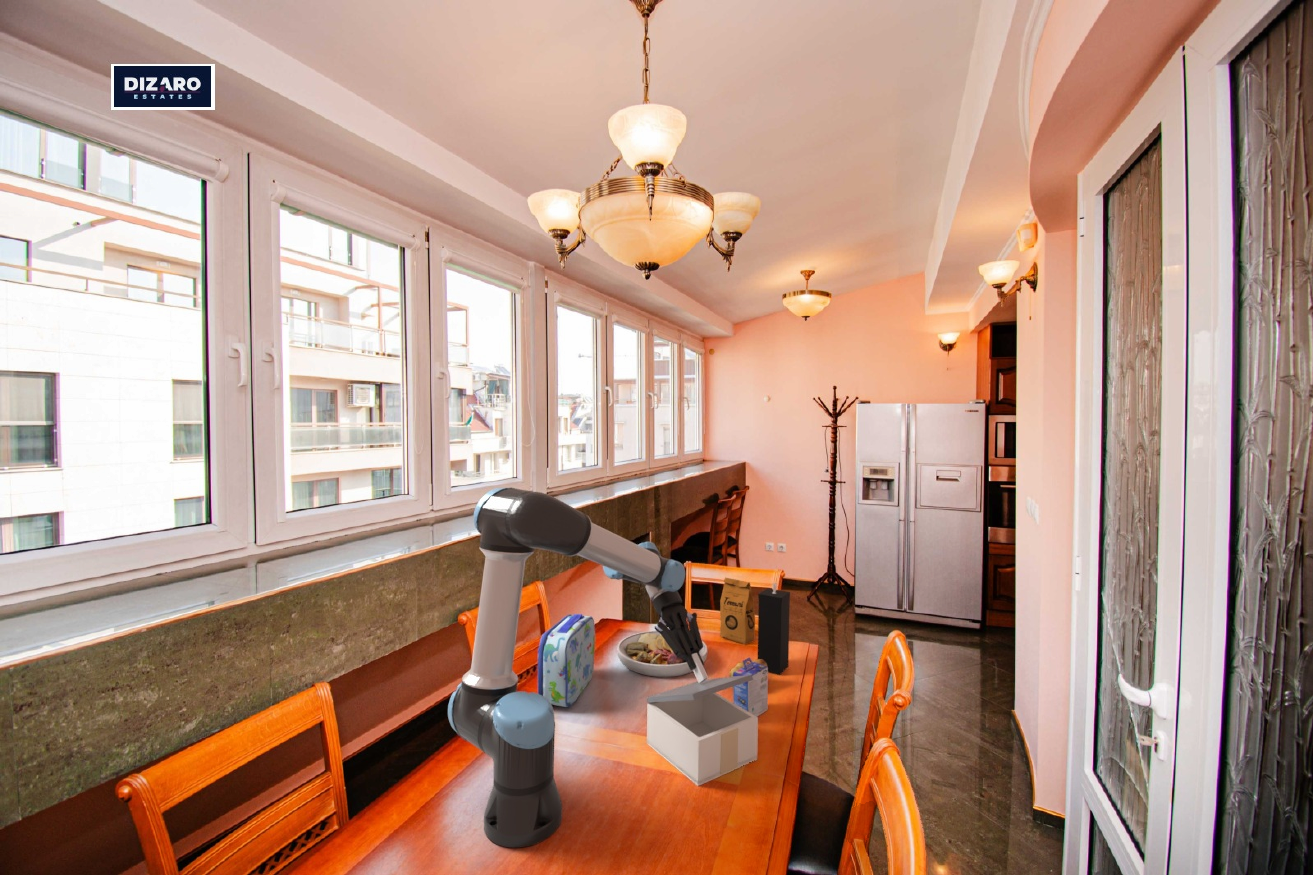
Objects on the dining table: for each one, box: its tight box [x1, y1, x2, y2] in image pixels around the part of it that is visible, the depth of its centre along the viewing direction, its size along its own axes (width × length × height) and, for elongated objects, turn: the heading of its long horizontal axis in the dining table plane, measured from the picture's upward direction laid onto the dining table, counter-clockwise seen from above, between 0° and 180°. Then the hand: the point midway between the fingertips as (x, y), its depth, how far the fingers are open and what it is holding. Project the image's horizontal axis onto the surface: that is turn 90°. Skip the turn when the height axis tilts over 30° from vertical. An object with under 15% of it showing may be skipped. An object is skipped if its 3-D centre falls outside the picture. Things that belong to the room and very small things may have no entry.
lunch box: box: [537, 613, 596, 708], centre depth 168 cm, size 26×11×21 cm, turn 168°
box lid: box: [645, 675, 753, 704], centre depth 139 cm, size 20×18×1 cm
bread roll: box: [728, 658, 768, 677], centre depth 173 cm, size 13×10×8 cm
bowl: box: [616, 630, 708, 678], centre depth 192 cm, size 30×30×8 cm
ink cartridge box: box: [732, 657, 769, 717], centre depth 157 cm, size 10×6×14 cm, turn 137°
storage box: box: [646, 692, 759, 787], centre depth 138 cm, size 20×18×10 cm
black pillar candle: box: [757, 582, 791, 676], centre depth 186 cm, size 8×8×28 cm
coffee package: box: [719, 577, 756, 646], centre depth 211 cm, size 10×12×22 cm
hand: (703, 680), depth 142 cm, fingers closed
